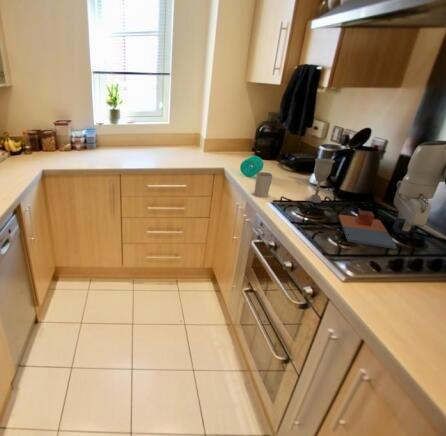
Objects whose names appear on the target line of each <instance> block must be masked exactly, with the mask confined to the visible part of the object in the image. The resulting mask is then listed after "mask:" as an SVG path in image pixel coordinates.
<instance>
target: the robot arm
mask: <svg viewBox="0 0 446 436" xmlns="http://www.w3.org/2000/svg"><path fill="white" fill-rule="evenodd" d="M440 183H444V185H445V186H446V140H429V141H424V142H422V143H420V144H419V145H418V146H417V147H416V148H415V149H414V151H413V153H412V155H411V156H410V160H409V161H408V165H407V172H406V174H405V176H404V177H403V178H402V180H398V181H397V184H396V187H397V189H396V191H395V195H394V198H393V206H395V208H396V210H397V211H398V214H397V218H399V219H406V220H405V224H404V225H402V230H403V231H409V230H410V227H411V226H412V225H413V227H424V226H425V225H426V223H427V221H428V218H429V215H430V212H431V208H432V207H431V206H432V205H431V204H430V202H428V201H429V200H431V199H434V197H435V195H436V192H437V189H438V187H439V186H440Z"/></svg>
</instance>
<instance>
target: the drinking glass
mask: <svg viewBox="0 0 446 436" xmlns="http://www.w3.org/2000/svg"><path fill="white" fill-rule="evenodd" d="M272 179H273V173H271V172H267V171H260V172H258V173H257V174H256V175H255V184H254V193H253V195H254V196H256V197H258V198H267V197H268V196H269V191H270V187H271V183H272Z"/></svg>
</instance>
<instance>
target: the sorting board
mask: <svg viewBox="0 0 446 436" xmlns="http://www.w3.org/2000/svg"><path fill="white" fill-rule="evenodd" d="M356 218H357V216H354V215H347V214H346V215H345V214H338V219H339V222H340V225H341V228H342V231H343V233H344V236H345V239H346V241H347V242H348V243H353V244H354V243H355V244H359V245H360V244H361V245H366V246H373V247H379V248H386V249H390V250H391V249H392V250H397V249H398V248H397V247H398V246H397V244H396V243H395V241H394V240H393V238H392V236H391V235H390V234H389V232H388V230H387V228H386V227H385V225H384V224H383V222H382V221H381V220H380V219H375V218H374V219H373V222H372V225H371V226H367V225H360V224H357V221H356ZM348 234H349V235H348Z"/></svg>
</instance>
